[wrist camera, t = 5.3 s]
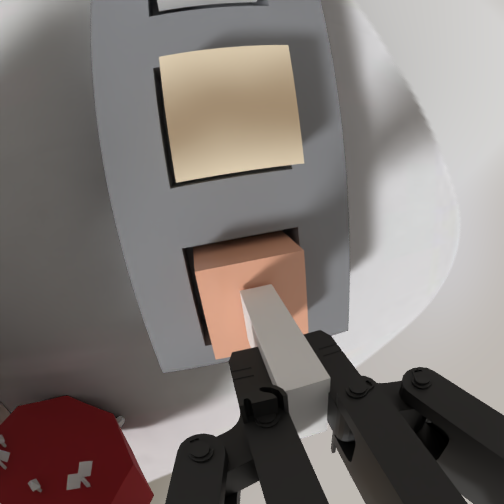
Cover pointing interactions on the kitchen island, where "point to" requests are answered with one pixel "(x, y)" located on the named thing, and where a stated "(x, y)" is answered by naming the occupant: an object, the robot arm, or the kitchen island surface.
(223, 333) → the terracotta key
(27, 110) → the kitchen island surface
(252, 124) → the birch key
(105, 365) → the kitchen island surface
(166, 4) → the white key
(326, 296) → the key panel
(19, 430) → the alarm clock
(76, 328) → the kitchen island surface
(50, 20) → the kitchen island surface
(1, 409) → the thermos bottle
